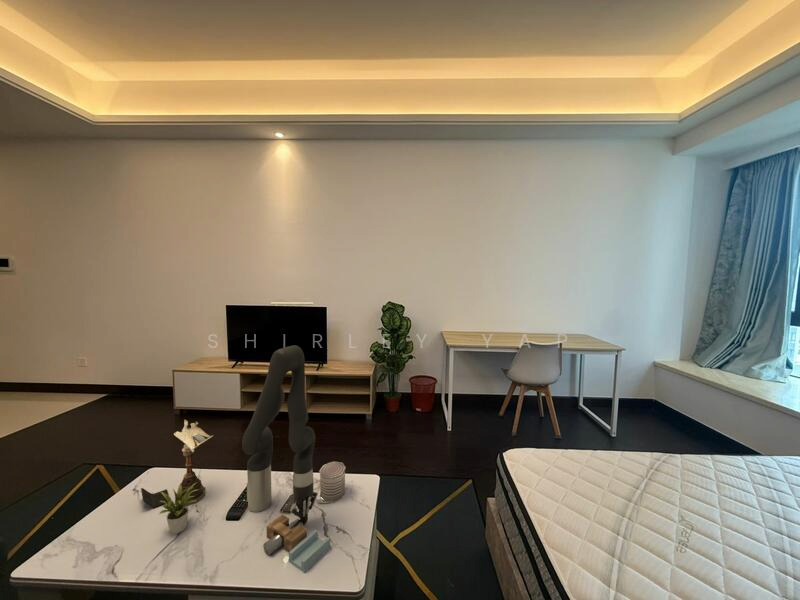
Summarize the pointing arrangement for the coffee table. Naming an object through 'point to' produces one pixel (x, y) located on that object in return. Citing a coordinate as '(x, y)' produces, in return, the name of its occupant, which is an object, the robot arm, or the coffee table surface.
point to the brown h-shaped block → (286, 532)
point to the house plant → (177, 510)
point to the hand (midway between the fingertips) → (303, 523)
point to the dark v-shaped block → (154, 498)
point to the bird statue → (189, 449)
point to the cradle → (309, 551)
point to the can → (332, 481)
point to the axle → (279, 539)
